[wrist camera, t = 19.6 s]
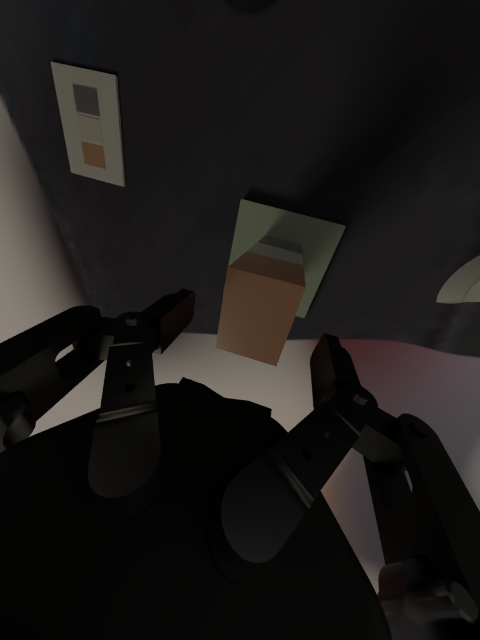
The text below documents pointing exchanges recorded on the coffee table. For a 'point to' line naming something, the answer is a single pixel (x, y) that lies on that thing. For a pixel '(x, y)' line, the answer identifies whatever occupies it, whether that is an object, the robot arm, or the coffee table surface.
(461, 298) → the cream lumpy elongated figurine
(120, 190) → the coffee table surface
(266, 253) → the brick cream
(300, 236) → the baseplate
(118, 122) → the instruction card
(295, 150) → the coffee table surface
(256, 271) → the brick terracotta
